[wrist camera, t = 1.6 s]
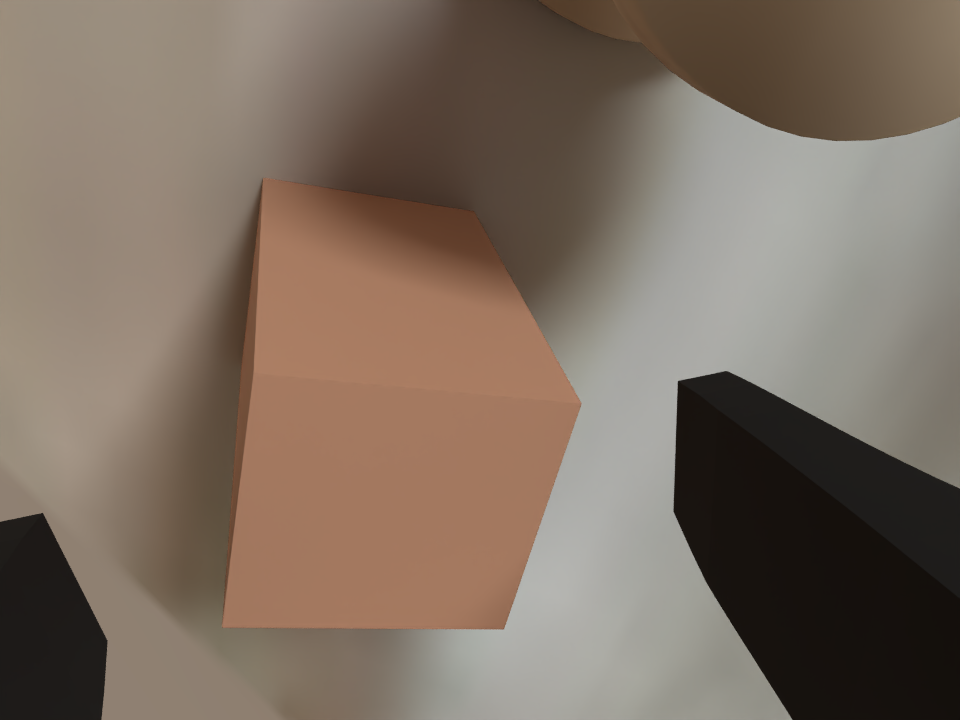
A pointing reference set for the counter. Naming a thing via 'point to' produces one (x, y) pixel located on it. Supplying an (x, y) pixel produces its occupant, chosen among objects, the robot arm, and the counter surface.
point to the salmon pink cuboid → (386, 420)
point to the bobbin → (801, 58)
